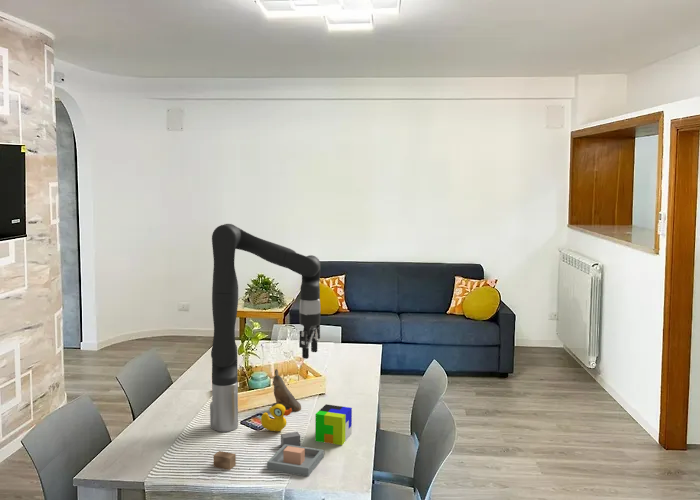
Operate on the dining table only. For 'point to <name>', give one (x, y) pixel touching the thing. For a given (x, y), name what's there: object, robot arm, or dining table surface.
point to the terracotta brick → (294, 455)
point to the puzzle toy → (333, 424)
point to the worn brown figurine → (284, 394)
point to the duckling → (275, 418)
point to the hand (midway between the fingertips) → (309, 355)
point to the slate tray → (304, 469)
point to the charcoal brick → (290, 439)
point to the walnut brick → (224, 460)
